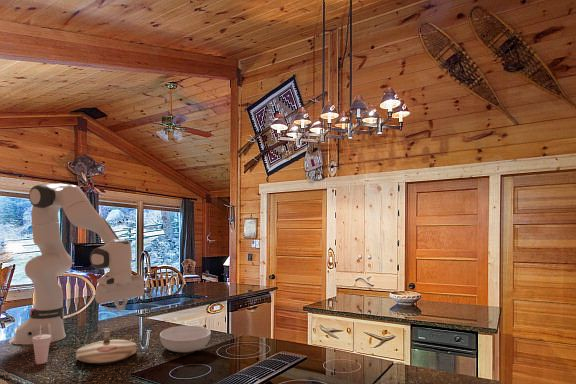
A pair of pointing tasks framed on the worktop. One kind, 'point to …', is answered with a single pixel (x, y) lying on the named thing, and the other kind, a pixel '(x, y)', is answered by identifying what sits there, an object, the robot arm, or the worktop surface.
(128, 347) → the round wooden board
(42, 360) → the smoothie
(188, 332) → the serving bowl
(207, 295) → the worktop surface
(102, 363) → the turntable base
